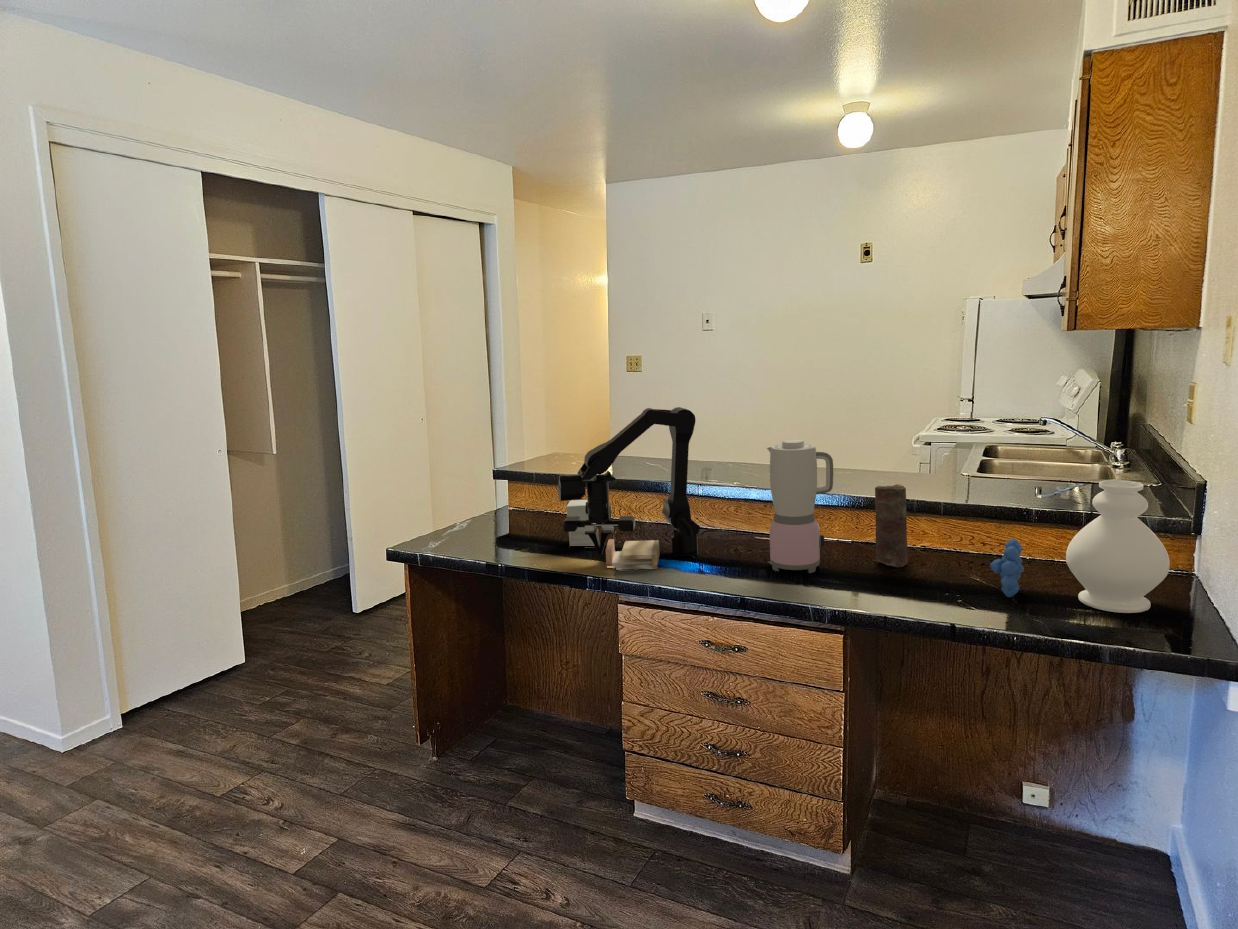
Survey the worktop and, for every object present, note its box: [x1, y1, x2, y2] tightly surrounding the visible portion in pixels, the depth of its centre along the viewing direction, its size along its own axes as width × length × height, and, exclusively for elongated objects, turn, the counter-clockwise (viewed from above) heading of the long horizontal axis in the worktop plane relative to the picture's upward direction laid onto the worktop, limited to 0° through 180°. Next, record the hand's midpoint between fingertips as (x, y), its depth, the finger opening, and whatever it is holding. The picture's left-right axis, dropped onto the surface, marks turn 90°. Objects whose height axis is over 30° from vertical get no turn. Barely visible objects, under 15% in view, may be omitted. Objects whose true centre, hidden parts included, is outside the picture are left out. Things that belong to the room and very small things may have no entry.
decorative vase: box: [1065, 479, 1171, 614], centre depth 156 cm, size 18×18×25 cm
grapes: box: [989, 538, 1025, 598], centre depth 165 cm, size 12×7×12 cm, turn 147°
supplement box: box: [565, 499, 597, 547], centre depth 221 cm, size 7×7×13 cm
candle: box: [874, 483, 908, 568], centre depth 188 cm, size 8×7×20 cm
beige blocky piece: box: [605, 538, 652, 566], centre depth 203 cm, size 12×10×5 cm
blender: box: [766, 439, 834, 574], centre depth 188 cm, size 16×12×32 cm
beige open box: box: [614, 539, 660, 570], centre depth 202 cm, size 11×13×4 cm
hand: (600, 555), depth 203 cm, fingers closed
